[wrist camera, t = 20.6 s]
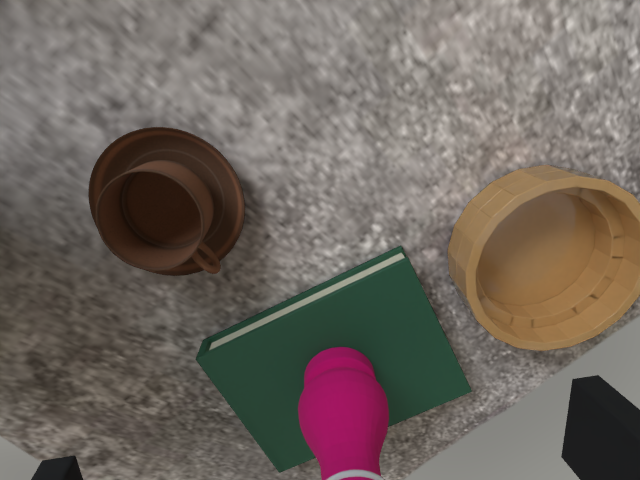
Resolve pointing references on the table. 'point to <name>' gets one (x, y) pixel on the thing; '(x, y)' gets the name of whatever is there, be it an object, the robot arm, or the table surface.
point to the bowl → (547, 256)
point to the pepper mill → (344, 414)
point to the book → (329, 332)
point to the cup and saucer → (166, 202)
